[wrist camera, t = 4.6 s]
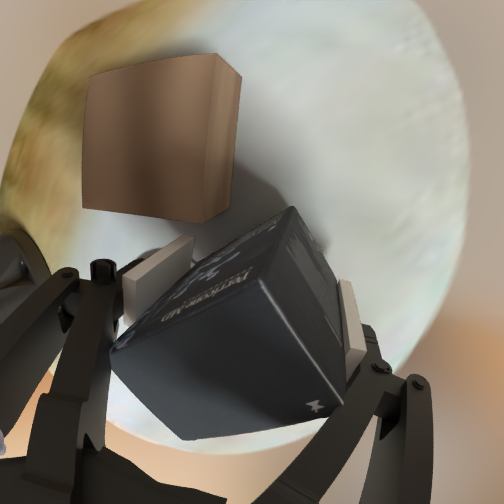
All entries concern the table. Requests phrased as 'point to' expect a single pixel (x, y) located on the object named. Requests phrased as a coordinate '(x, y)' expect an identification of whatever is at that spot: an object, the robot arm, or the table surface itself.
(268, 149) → the table surface
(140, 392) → the box
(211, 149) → the block
